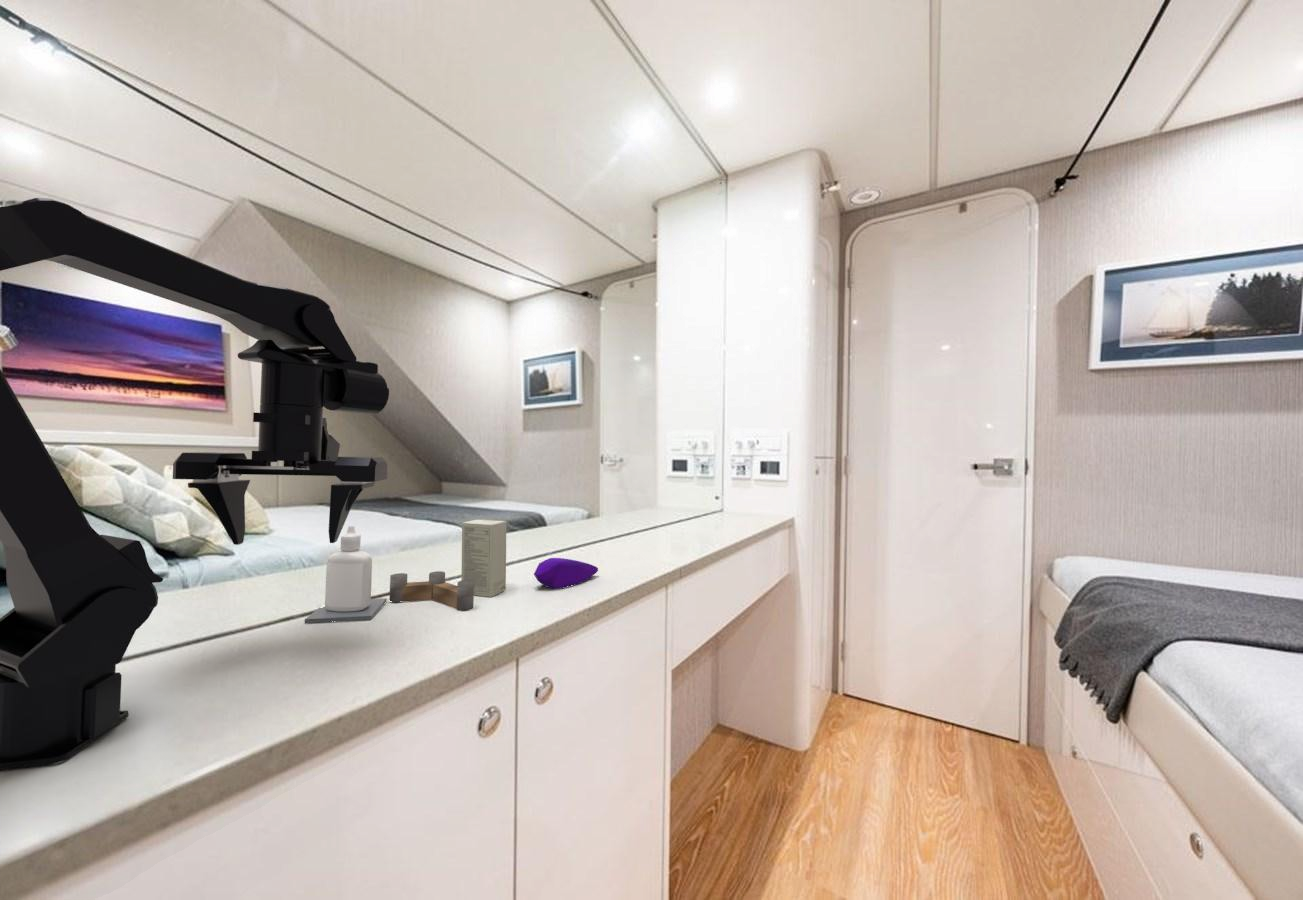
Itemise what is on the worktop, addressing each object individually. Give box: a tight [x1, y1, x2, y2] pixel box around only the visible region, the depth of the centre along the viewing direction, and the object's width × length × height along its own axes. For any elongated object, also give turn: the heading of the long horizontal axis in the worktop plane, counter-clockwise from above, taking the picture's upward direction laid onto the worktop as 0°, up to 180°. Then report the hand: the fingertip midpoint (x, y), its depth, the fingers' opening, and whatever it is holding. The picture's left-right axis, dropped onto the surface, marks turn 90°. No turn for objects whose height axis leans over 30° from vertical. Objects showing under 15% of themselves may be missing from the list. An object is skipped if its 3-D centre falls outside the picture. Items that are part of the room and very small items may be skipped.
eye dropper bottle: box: [324, 525, 373, 612], centre depth 68 cm, size 4×6×12 cm
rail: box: [389, 570, 475, 612], centre depth 73 cm, size 13×8×4 cm, turn 106°
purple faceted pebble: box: [533, 557, 599, 590], centre depth 87 cm, size 5×5×15 cm
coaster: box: [304, 597, 388, 624], centre depth 68 cm, size 8×8×1 cm
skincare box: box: [460, 518, 507, 598], centre depth 80 cm, size 6×4×12 cm
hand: (287, 543), depth 53 cm, fingers open, 9 cm apart
